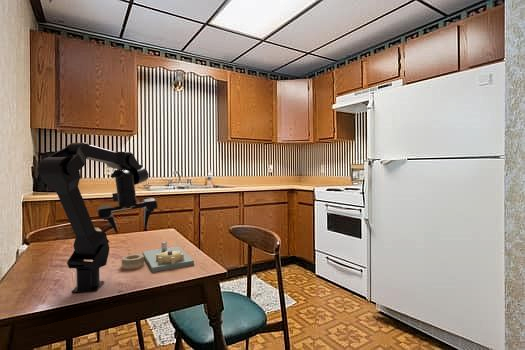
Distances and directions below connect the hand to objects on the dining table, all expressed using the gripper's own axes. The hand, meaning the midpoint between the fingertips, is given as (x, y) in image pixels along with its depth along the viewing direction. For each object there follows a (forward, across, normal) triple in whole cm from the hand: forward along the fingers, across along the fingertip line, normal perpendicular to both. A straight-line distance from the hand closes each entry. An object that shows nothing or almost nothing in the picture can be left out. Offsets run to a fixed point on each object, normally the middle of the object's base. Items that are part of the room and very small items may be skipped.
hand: (131, 230), depth 104 cm
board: (+13, -10, +2) cm, 17 cm away
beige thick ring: (+12, +1, +3) cm, 12 cm away
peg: (+12, -11, -2) cm, 16 cm away
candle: (+14, +13, -24) cm, 31 cm away
